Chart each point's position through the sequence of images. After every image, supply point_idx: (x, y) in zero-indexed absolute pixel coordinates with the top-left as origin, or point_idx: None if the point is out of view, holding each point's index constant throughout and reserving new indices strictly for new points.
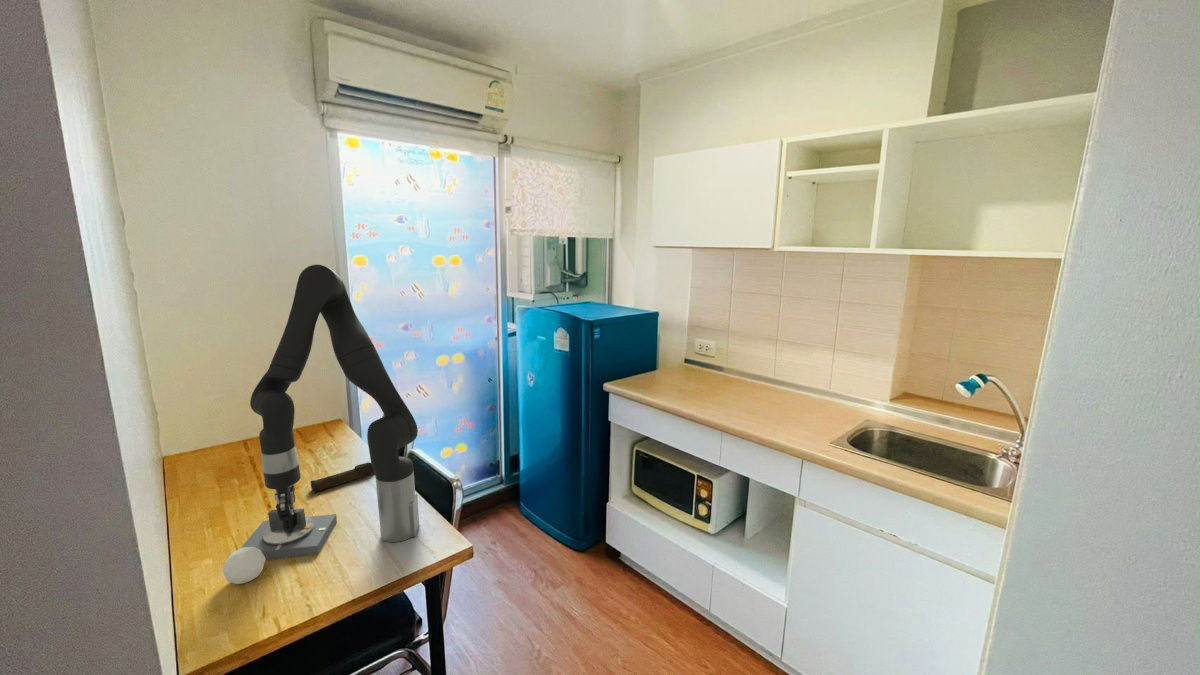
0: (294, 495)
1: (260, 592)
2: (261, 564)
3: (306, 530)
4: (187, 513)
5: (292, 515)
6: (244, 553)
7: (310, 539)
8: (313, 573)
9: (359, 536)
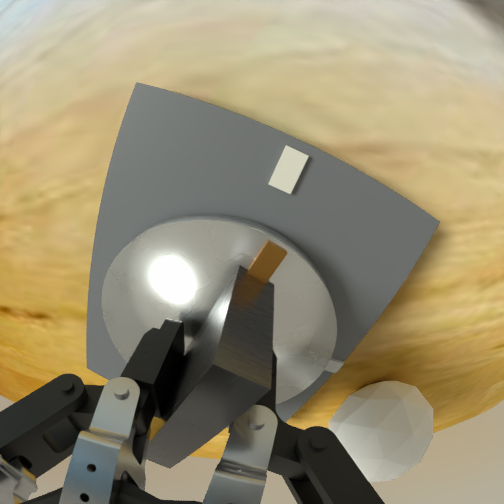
0: (87, 476)
1: (452, 361)
2: (425, 403)
3: (301, 269)
4: None
5: (267, 418)
6: (409, 467)
7: (361, 243)
8: (495, 241)
9: (375, 19)
